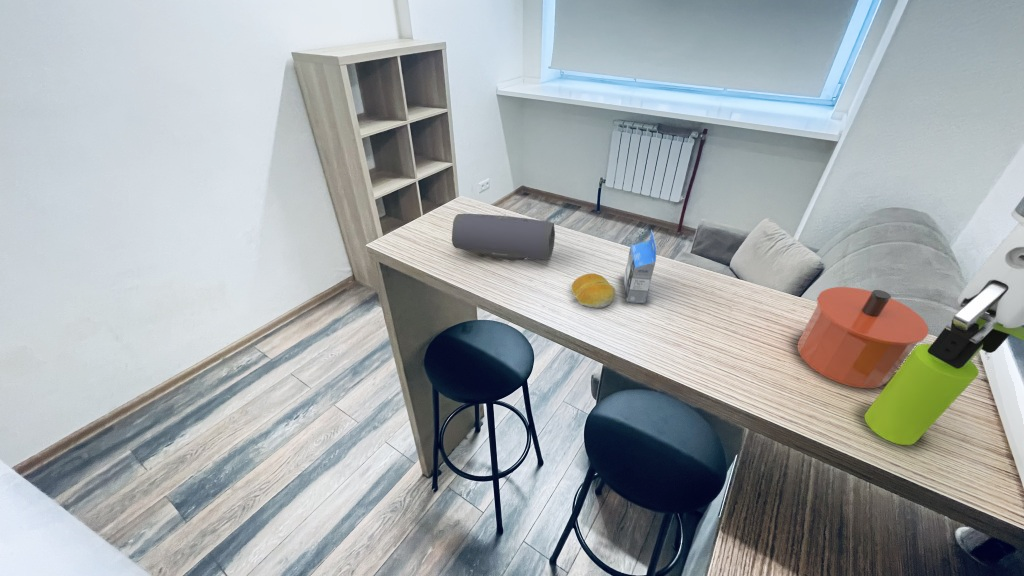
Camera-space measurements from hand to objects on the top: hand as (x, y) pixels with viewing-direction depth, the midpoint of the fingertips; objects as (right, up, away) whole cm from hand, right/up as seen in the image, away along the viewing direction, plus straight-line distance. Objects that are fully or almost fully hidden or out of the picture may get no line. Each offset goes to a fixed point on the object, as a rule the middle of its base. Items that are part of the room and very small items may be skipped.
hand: (960, 351), depth 48 cm
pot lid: (+2, +3, +14) cm, 15 cm away
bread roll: (-37, +6, +36) cm, 51 cm away
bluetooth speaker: (-55, +15, +49) cm, 76 cm away
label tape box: (-28, +7, +37) cm, 46 cm away
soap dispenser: (0, -12, +9) cm, 15 cm away
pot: (+2, -4, +20) cm, 20 cm away
